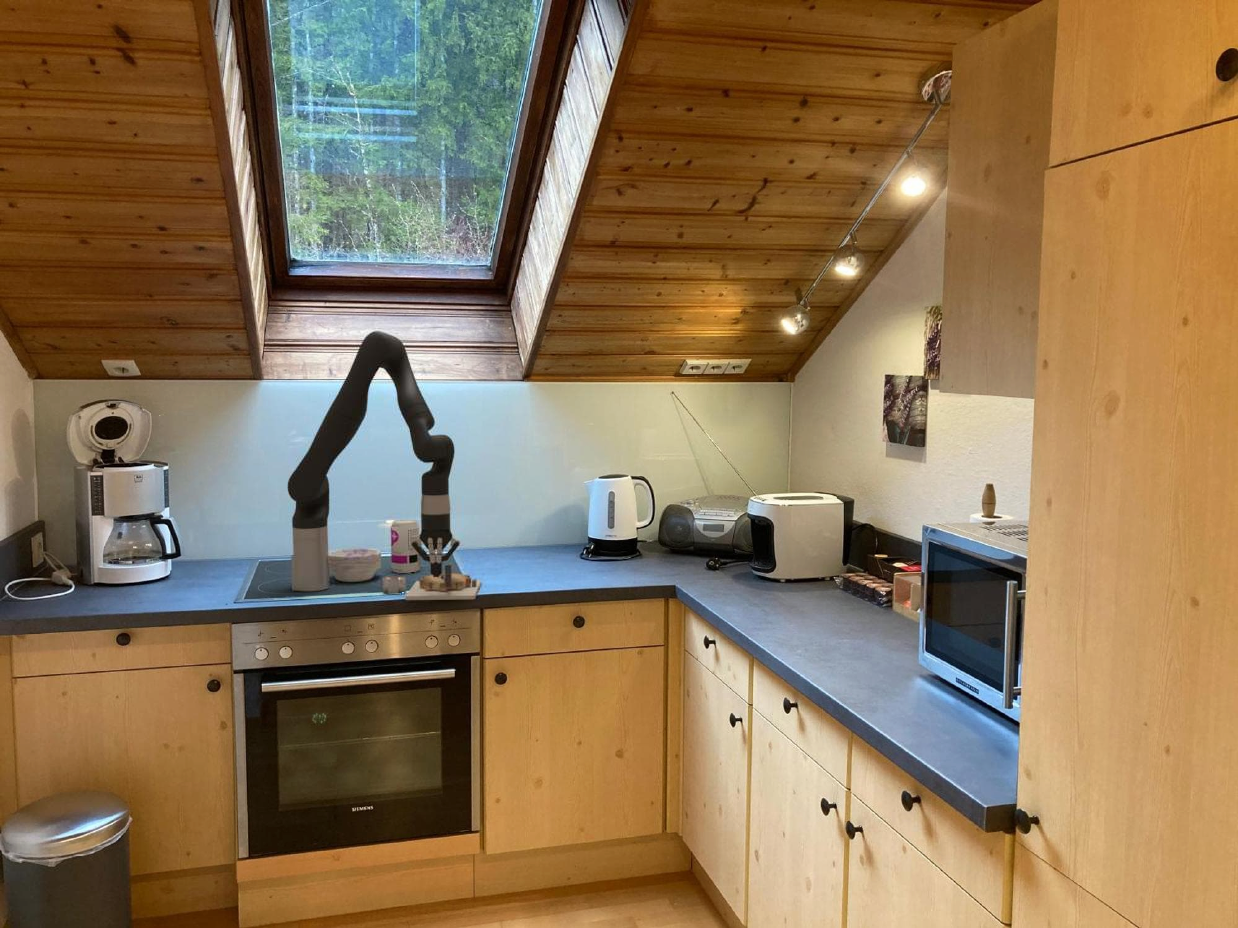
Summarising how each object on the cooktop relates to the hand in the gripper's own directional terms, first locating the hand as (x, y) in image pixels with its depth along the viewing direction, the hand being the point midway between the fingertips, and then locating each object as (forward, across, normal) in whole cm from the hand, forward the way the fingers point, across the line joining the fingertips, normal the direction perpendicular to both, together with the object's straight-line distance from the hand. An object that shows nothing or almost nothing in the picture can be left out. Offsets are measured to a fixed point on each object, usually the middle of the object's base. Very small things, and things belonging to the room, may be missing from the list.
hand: (436, 576), depth 270 cm
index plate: (+6, +1, +7) cm, 9 cm away
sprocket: (+4, +2, +8) cm, 9 cm away
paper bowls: (+6, -27, +25) cm, 37 cm away
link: (+6, -12, +7) cm, 15 cm away
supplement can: (+6, -14, +35) cm, 38 cm away
